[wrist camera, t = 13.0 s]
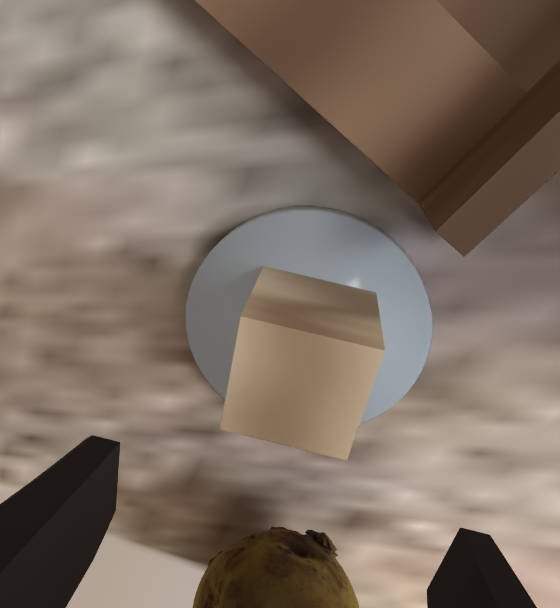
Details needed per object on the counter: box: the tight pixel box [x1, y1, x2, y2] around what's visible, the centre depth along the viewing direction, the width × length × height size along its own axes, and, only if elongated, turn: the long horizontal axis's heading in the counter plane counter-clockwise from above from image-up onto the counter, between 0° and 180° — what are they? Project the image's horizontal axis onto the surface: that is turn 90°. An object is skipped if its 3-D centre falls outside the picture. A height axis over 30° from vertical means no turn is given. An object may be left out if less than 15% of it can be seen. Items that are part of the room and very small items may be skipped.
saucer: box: [185, 206, 433, 424], centre depth 18 cm, size 9×9×1 cm
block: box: [220, 266, 385, 460], centre depth 16 cm, size 4×4×4 cm
